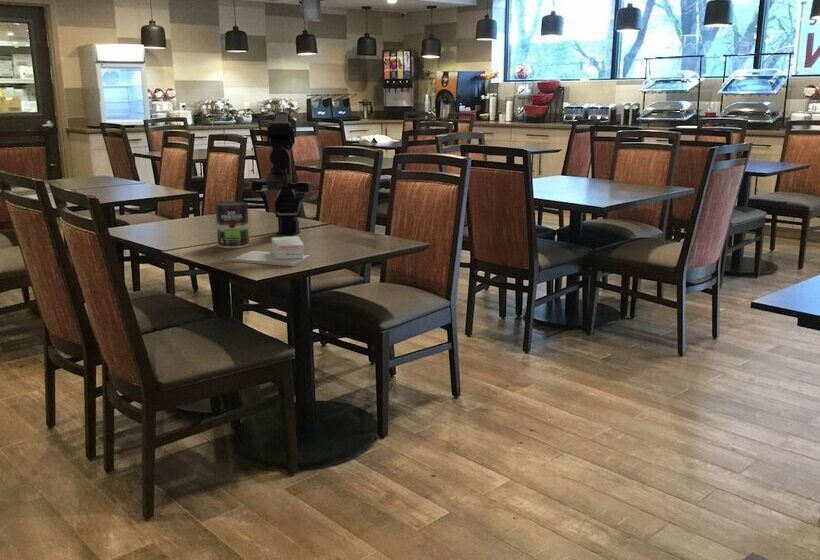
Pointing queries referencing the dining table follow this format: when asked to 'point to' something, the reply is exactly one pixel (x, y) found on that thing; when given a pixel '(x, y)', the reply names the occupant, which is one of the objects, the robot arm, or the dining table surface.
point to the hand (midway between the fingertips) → (283, 213)
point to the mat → (268, 259)
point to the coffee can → (232, 224)
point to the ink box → (287, 247)
